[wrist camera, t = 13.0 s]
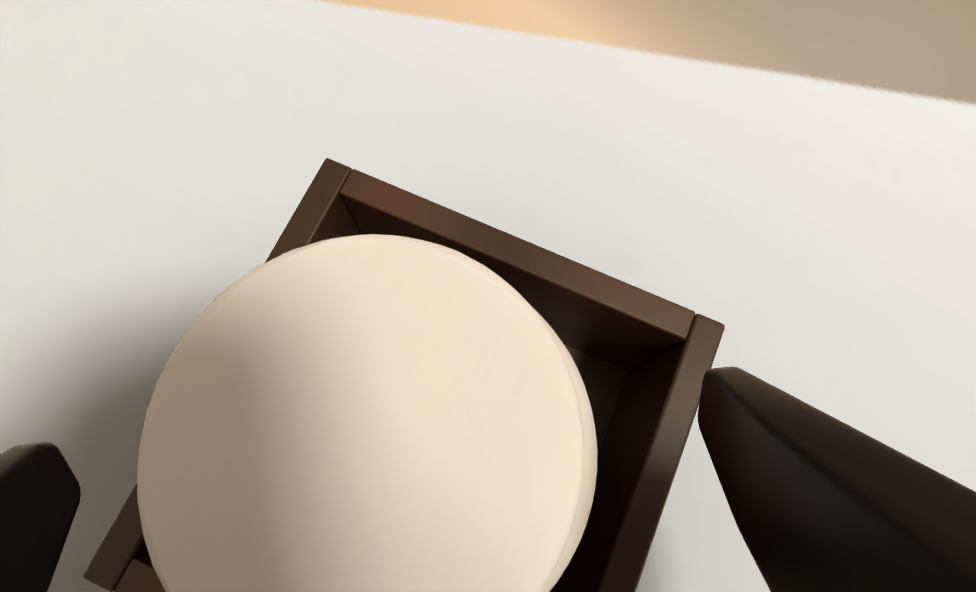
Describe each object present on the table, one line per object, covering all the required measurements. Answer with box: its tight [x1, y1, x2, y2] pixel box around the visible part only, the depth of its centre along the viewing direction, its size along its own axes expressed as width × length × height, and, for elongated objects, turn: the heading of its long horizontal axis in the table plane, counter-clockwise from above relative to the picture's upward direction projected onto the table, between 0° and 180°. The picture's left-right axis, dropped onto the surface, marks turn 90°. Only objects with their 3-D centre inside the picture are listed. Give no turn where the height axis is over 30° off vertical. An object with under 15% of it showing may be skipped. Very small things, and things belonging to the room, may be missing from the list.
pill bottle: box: [137, 234, 597, 592], centre depth 11 cm, size 6×6×11 cm
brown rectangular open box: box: [83, 158, 724, 592], centre depth 14 cm, size 10×10×6 cm
